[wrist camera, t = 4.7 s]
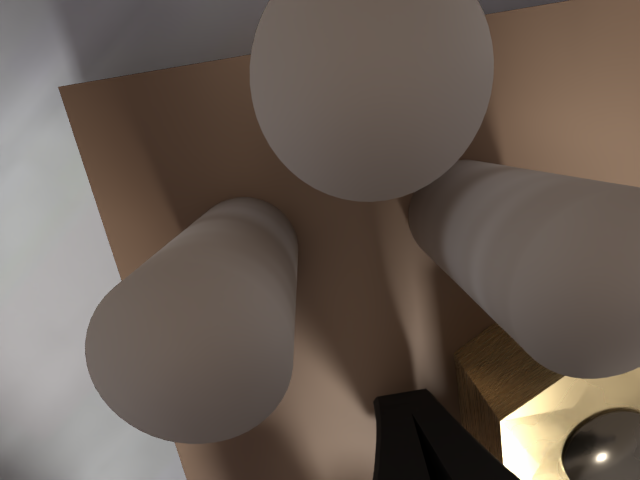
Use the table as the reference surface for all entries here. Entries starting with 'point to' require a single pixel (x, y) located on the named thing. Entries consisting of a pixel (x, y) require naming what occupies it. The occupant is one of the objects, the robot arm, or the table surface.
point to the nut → (547, 414)
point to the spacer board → (361, 221)
